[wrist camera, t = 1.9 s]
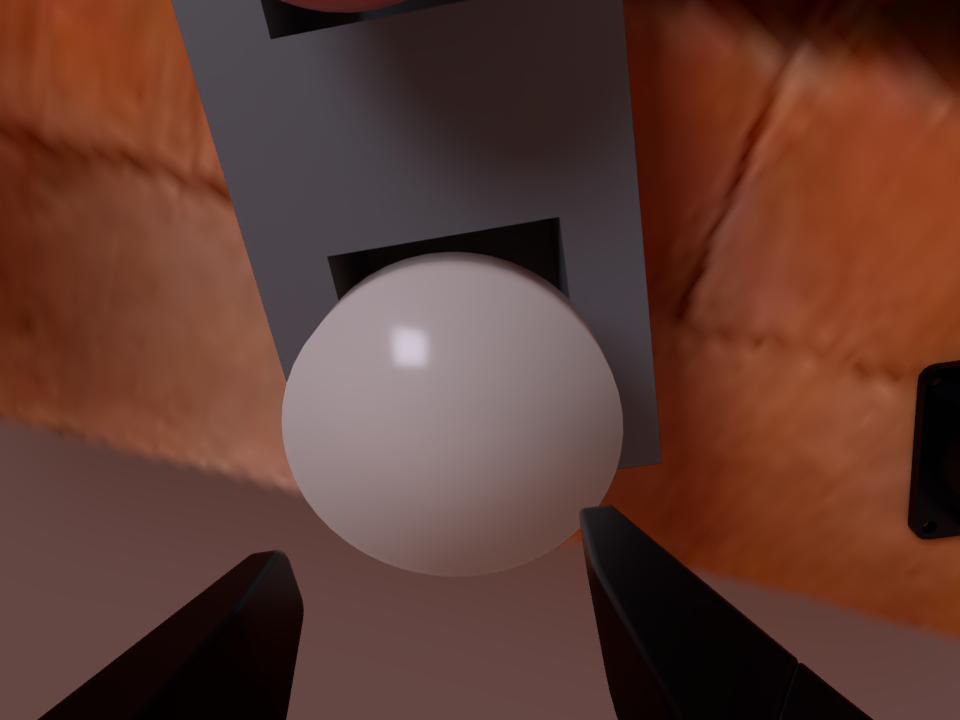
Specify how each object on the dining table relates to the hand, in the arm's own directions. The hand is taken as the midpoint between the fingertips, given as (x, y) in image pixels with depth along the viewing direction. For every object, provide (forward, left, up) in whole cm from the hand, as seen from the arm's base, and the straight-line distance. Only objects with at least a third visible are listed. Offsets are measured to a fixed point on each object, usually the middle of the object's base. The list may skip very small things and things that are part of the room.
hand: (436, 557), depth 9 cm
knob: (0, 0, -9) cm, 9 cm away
